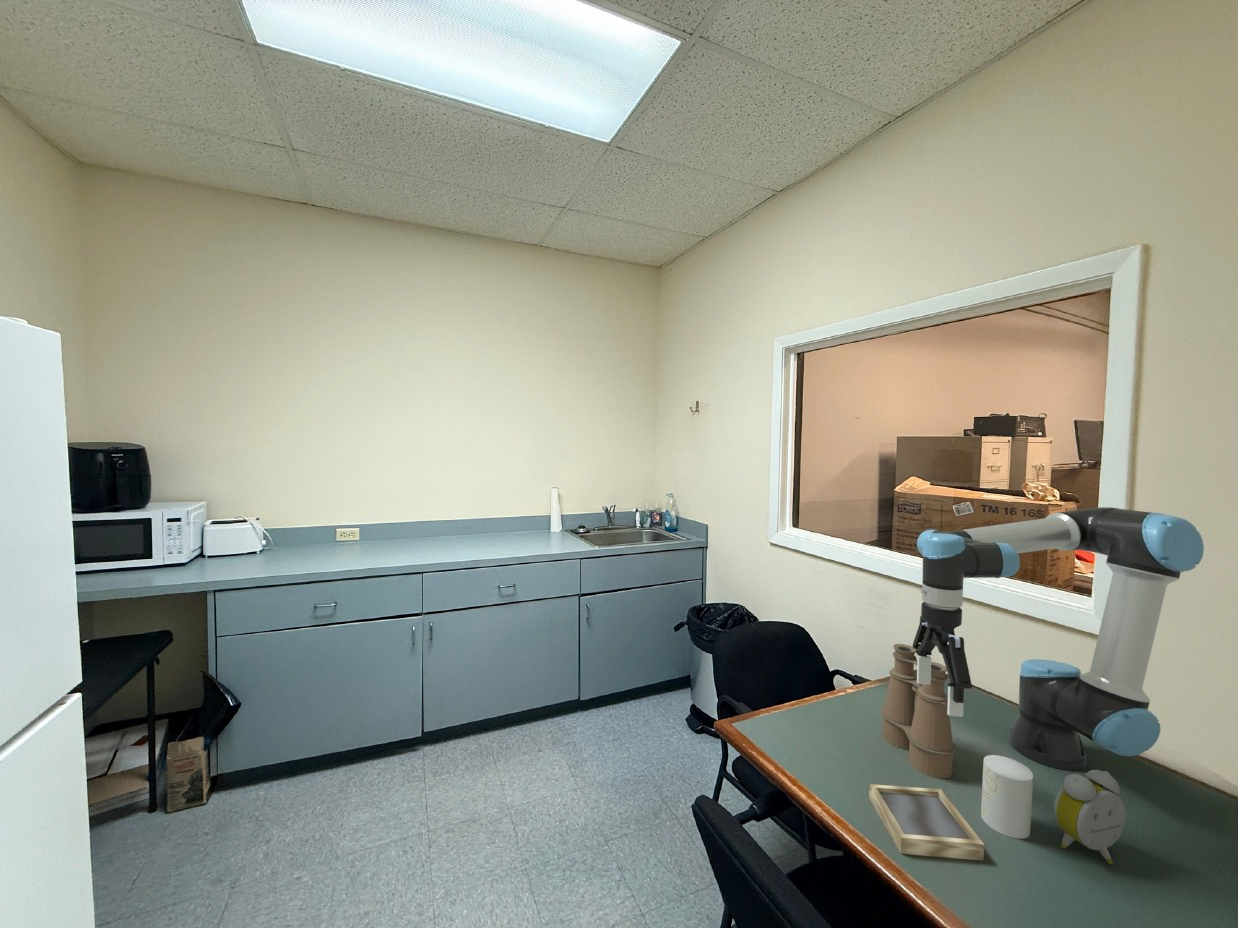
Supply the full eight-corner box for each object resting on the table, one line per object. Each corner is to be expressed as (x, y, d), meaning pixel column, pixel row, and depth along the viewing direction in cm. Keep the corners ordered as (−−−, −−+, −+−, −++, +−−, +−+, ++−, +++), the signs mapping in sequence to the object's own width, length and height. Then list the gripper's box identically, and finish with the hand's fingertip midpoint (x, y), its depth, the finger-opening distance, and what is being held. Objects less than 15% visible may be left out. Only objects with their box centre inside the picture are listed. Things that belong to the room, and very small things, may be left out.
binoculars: (964, 778, 118) (969, 674, 117) (925, 780, 117) (929, 676, 116) (906, 727, 138) (909, 639, 137) (872, 729, 137) (875, 640, 136)
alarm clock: (1093, 832, 102) (1097, 761, 101) (1135, 860, 95) (1139, 784, 94) (1049, 842, 99) (1053, 769, 98) (1089, 871, 92) (1093, 793, 92)
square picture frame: (940, 803, 109) (940, 789, 109) (983, 860, 95) (984, 844, 94) (869, 797, 111) (869, 783, 111) (900, 853, 96) (901, 837, 96)
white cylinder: (980, 802, 110) (983, 750, 109) (1028, 819, 105) (1031, 764, 104) (981, 825, 103) (983, 769, 102) (1031, 844, 98) (1035, 786, 98)
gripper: (898, 587, 122) (896, 671, 123) (953, 624, 98) (950, 729, 99) (931, 588, 121) (928, 673, 122) (995, 626, 97) (991, 732, 98)
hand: (938, 698), depth 111 cm, fingers open, 13 cm apart
